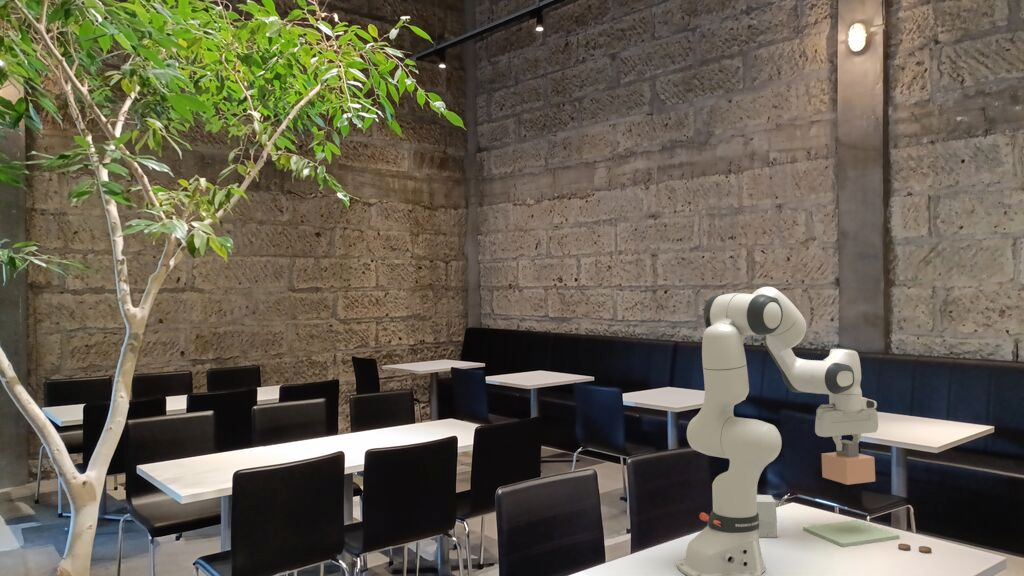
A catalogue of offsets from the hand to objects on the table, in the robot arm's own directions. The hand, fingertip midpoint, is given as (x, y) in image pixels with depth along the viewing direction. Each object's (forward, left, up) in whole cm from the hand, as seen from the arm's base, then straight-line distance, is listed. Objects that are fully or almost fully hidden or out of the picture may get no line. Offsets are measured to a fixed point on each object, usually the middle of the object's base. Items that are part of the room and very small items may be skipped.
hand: (847, 449), depth 212 cm
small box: (-22, +10, -25) cm, 35 cm away
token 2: (+8, -19, -25) cm, 32 cm away
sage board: (0, 0, -25) cm, 25 cm away
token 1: (+4, -15, -25) cm, 30 cm away
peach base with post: (0, 0, -9) cm, 9 cm away
